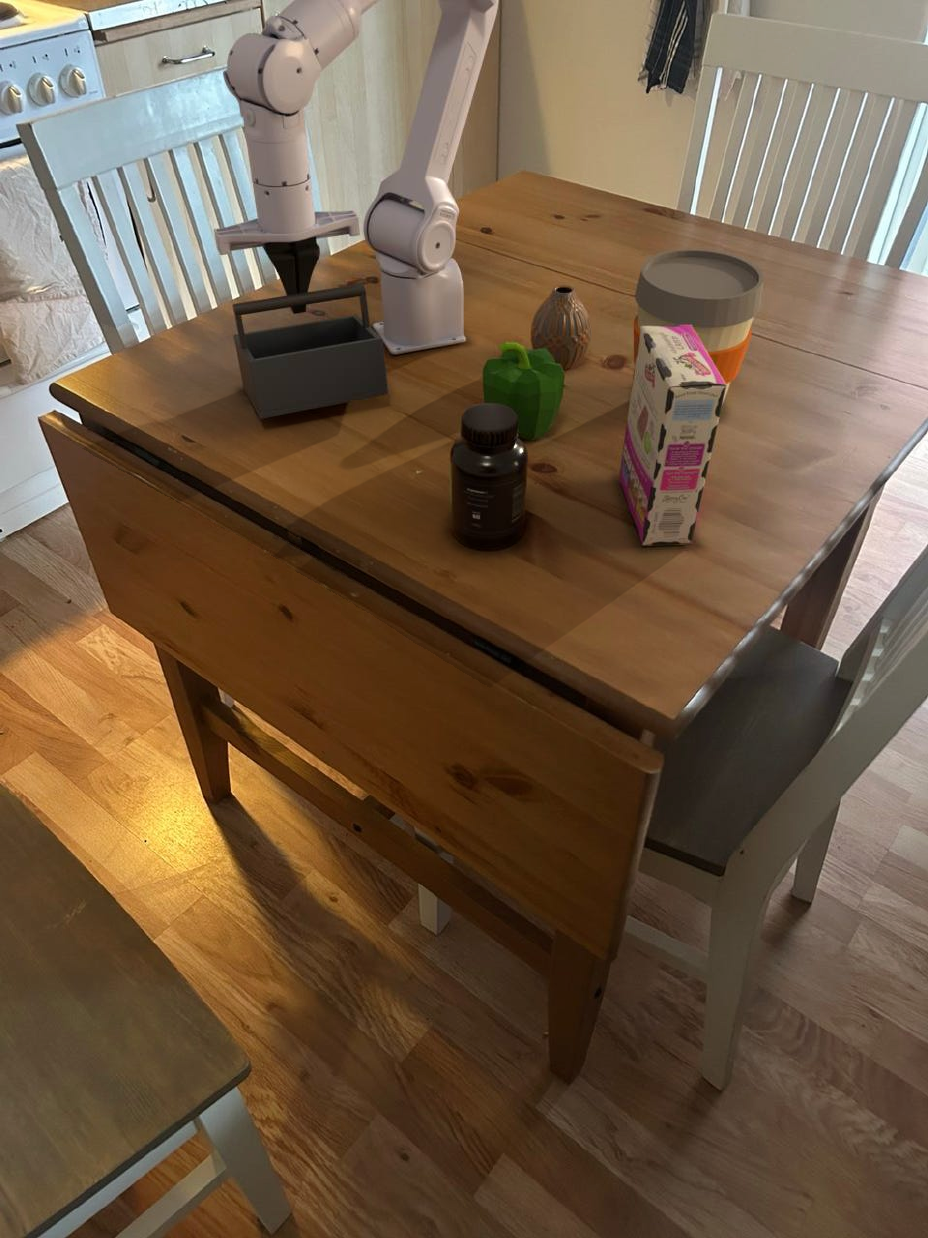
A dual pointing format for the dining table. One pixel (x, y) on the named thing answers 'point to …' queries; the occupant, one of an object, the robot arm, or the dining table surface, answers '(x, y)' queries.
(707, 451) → the candy bar box
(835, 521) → the dining table surface
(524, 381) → the bell pepper
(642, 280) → the reusable coffee cup
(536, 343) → the vase
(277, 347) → the grey tool caddy
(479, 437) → the supplement bottle
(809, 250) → the dining table surface
